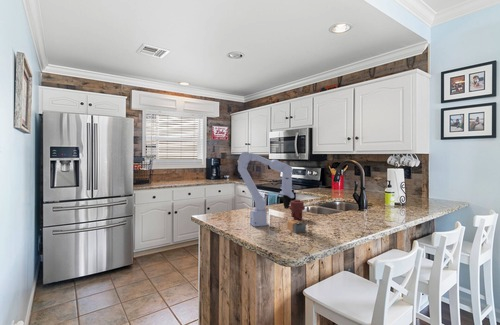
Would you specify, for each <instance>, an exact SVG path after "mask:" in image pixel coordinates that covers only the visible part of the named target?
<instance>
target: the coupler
mask: <svg viewBox="0 0 500 325" xmlns="http://www.w3.org/2000/svg"><path fill="white" fill-rule="evenodd" d="M301 222H302V221H300V222H297V223H296V224H293V231H292V232H293V233H295V234H302V233H306V232H307V230H306V229H307V225H306V224H305V223H304V222H302V223H301Z"/></svg>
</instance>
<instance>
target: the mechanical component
mask: <svg viewBox="0 0 500 325" xmlns="http://www.w3.org/2000/svg"><path fill="white" fill-rule="evenodd" d="M304 204H305V202H304V201H302V200H300V199H294V200H291V202H290V205H289V210H291V214H290V217H292V218H293V220H298V221H300V220H303V211H304V210H306V206H305V205H304Z"/></svg>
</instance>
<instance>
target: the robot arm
mask: <svg viewBox="0 0 500 325" xmlns="http://www.w3.org/2000/svg"><path fill="white" fill-rule="evenodd" d="M250 162H259V163H261V164H264V165H267V166H269V168H270V169H271V170H273V171H276V172H279V173H282V174H281V175H282V177H281V191H279V195H281V196H280V198H281V200H282V203H283V209H285V210H287V209H289V206H290V202H291V201H293V199H294V198H295V194H294V192H293V189H292V188H293V177H292V176H293V174H292V173H293V167H292V166H291V165H289V164H287V163H286V162H281V161H279V159H277V158H276V159H275V158H274V159H272V160H270V159H267V158H266V157H263V156H261V155H258V154H256V153H252V152H249V151H243V152H241V153H240V155H239V157H238V165H237V171H238V173H239V175H240V176H241V178H242V180H243V182H244V185H245V186H246V188H247V189H248V191H249V192H250V195H251V197H252V199H253V201H254V208H253V209H252V210H251V209H250V213H249V224H250V225H251V226H253V227H254V228H255V227H266V226H270V224H269V223H268V222H267V221H268V220H267V219H268V217H267V215H268V213H267V212H268V210H267V200H266V198H265V197H264V196H262V194H261V193H260V191H259V190H258V188H257V185H256V184H255V182H254V181H253V180H254V179H253V178H252V177H251V174H250V173H249V171H248V169H247V168H248V165H249V164H250ZM282 195H283V196H282ZM289 210H290V209H289Z"/></svg>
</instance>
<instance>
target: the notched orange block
mask: <svg viewBox="0 0 500 325" xmlns="http://www.w3.org/2000/svg"><path fill="white" fill-rule="evenodd" d="M286 222H287V224H286V225H287V226H286V227H287V230H290V231H291V232H293V224H296V223H297V222H301V223H303V222H302V221H300V220H294V219H292V220H287V221H286Z"/></svg>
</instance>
